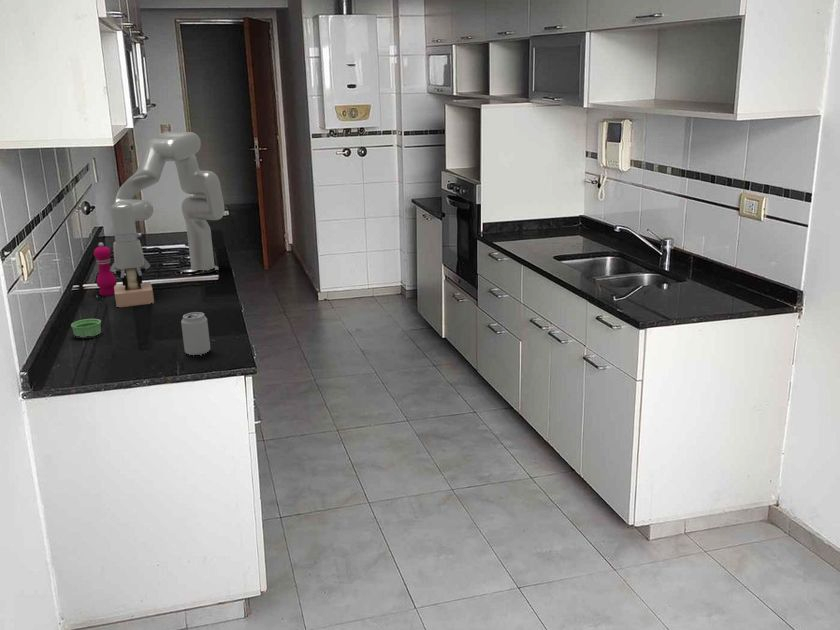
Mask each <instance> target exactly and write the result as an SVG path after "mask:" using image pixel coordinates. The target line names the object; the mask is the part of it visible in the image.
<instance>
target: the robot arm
mask: <svg viewBox="0 0 840 630" xmlns="http://www.w3.org/2000/svg"><path fill="white" fill-rule="evenodd" d="M201 146H202V141H201V139H200V136H199V135H198V134H196V133H195V132H192V131H165V132H161V133H159V134H158V136H157V138H152V139H149V140H148V141H147V142H146V144H145V146H144V150H143V152H142V154H141V155H142V156H141V158H140V161H139V163H138V167H137V170H136V171H135V173H134V174H132V175H131V176H130V177H128V179H126V180H125V182H124V183H123V184H122V185H121V186H120V187H119V189H118V191H117V192H116V196H115V197H114V198H115V199H114V202H113V204H112V205H111V207H110V212H111V219H112V226H113V233H114V240H115V241H114V242H113V243H112V244H113V245H112V247H113V248H112V249H113V262H112V264H111V265H110V271H112V273H113V274H116V275H118V276H119V277H120V278H121V281H122V285H123V286H125V288H127V281H126V275H125V269H133V268H136V270H137V277H138V285H139V287H140V286H141V284H142V283H143V279H142V277H143V274H144V273H145V271H146V270H148V269H149V268H150V267H151V264H150V263H149V261H147V259H146V258H145V256H144V251H143V247H142V243H141V241H140V239H138V238H141V237H142V233H141V232H137V228H136V227H137V226H136V222H138V221H141V222H142V221H147V220H148V219H150V218H151V217H152V216H153V214H154V207H153V205H152V203H151V202H149V201H148V200H145V199H134V197H135V196H136V195H137V194H138V193H139V192H141V191H142V190H144V189H147V188H149V187H152V186H153V185H155V184H157V183H158V182H160V180H161V179H160V178H161V176H162V174H163V173H162V172H163V170H164V167H165V164H166V162H174V164H175V167H176V171H177V176H178V181H179V185H180V188H181V190H182V192H184V193H185V194H188V195H191V196H187V197H185V198H184V199H183V201H182V202H181V211H182V216H183V219H184V223H185V226H186V235H187V242H188V250H189V252H188V253H189V260H190V268H191V269H193V270H203V271H204V270H210V269H213V268H215V270H218V271H219V266H218V265H215V260H214V250H213V241H212V231H211V226H210V224H209V222H208V221H218V220H221V219H222V218H223V216H224V214H225V203H224V197H223V193H222V187H221V182H220V179H219V177H218V175H217V174H216V173H215V172H213V171H210V170H201V169H200V167H199V163H198V160H197V156H196V154H197V153H199V151H200V150H201ZM198 195H201V196H198ZM203 195H204V196H203Z"/></svg>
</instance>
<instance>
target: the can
mask: <svg viewBox="0 0 840 630" xmlns="http://www.w3.org/2000/svg"><path fill="white" fill-rule="evenodd" d="M180 323H181V331H182V333H181V334H182V340H183V346H184V353H185V354H187V355H188V354H189V355H188V356H190V355H193V356H192V357H195V356H194V355H200V356H203V355H202V354H204V355H206V354H208V353H209V351H211V342H210V333H209V325H208V324H209V323H208V318H207V317H206V316H205V313H204V312H199V311H198V312H197V311H193V312H188V313H186V314H183V316H182V319H181V321H180ZM207 352H208V353H207ZM205 353H206V354H205Z"/></svg>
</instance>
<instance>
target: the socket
mask: <svg viewBox="0 0 840 630" xmlns="http://www.w3.org/2000/svg"><path fill="white" fill-rule="evenodd" d="M114 291H115V294H114V299H115V305H116V308H117V307H119V308H125V307H126V308H128V307H134V306H142V305H143V306H144V305H151V303H152V304H155V299H154V298H155V297H154V291H153V286H152V283H151V281H146V282H142V284H141V286H140V287H139V289H136V290H128V289H127V288H125V286H123V284H121V285H119V284H118V285H115V286H114Z"/></svg>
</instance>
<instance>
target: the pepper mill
mask: <svg viewBox="0 0 840 630" xmlns="http://www.w3.org/2000/svg"><path fill="white" fill-rule="evenodd" d="M111 254H112V252H111V250H110V247H108V246H105V245H104V243H103V242H98V246H97V247H96V248H95V249H94V251H93V256H94V258H95V259H96V264H97V265H98V273H97V277H96V286H97V287H98V288H99V290H98V292H99V295H100V296H104V297H107V296H112V295H115V291H114V286H117V283H118V282H117V278H116V276H115V275H114V272H112V271H110V268H111V265H110V263H111V258H110V257H111Z"/></svg>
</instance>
